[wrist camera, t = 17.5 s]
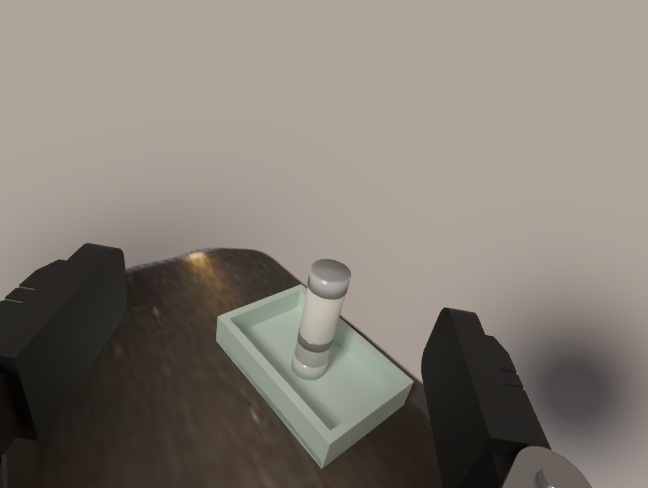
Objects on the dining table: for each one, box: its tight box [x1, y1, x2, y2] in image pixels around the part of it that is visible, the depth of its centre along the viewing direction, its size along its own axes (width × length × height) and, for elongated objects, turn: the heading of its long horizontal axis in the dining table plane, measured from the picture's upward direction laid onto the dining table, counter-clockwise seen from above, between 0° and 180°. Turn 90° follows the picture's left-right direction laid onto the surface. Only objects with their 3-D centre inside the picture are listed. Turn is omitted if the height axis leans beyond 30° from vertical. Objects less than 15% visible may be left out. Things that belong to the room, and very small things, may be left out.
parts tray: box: [216, 285, 414, 469], centre depth 49 cm, size 20×13×4 cm, turn 42°
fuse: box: [291, 259, 351, 380], centre depth 46 cm, size 4×4×14 cm
